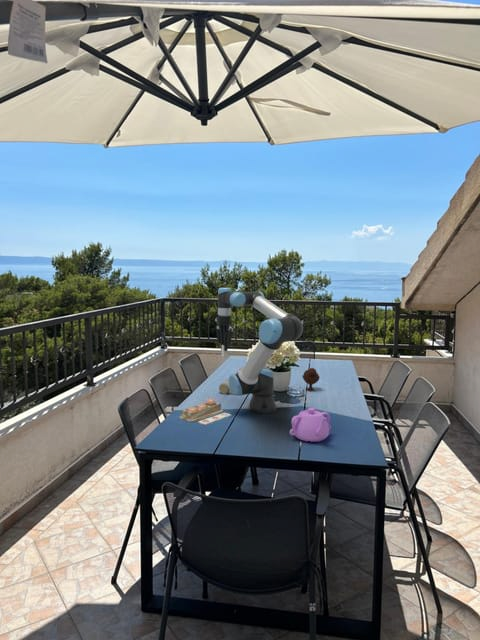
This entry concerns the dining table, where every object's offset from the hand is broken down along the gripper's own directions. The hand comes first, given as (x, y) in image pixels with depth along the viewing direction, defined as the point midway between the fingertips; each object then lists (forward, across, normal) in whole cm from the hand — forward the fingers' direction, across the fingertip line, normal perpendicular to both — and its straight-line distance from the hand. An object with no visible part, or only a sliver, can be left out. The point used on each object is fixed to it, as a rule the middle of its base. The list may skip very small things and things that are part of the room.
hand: (224, 356), depth 262 cm
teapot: (+29, -67, +12) cm, 74 cm away
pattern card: (+28, -14, +22) cm, 39 cm away
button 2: (+25, -4, +15) cm, 29 cm away
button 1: (+27, -4, +29) cm, 40 cm away
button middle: (+27, -4, +22) cm, 35 cm away
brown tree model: (+29, -20, -62) cm, 71 cm away
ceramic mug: (+29, +15, -21) cm, 39 cm away
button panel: (+28, -4, +22) cm, 36 cm away
